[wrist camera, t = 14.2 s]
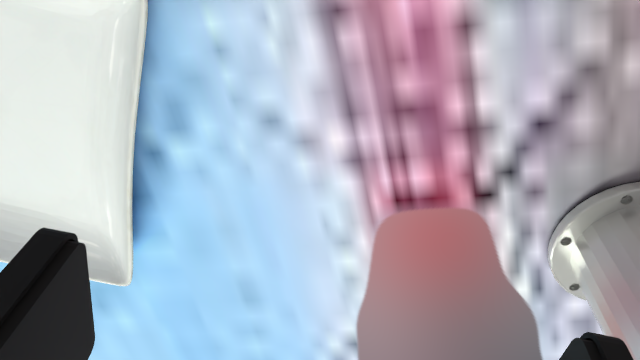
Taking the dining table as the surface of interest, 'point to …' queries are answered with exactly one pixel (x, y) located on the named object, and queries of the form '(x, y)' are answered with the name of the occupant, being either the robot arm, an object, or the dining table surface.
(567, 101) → the dining table surface
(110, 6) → the square plate
